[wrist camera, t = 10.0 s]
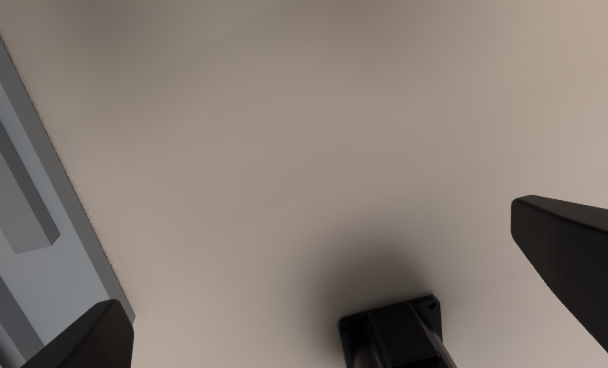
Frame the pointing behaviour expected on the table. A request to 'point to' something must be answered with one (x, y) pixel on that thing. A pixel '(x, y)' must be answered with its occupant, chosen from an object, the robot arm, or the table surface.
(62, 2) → the table surface
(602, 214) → the robot arm
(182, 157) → the table surface
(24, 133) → the grey stepped stand
